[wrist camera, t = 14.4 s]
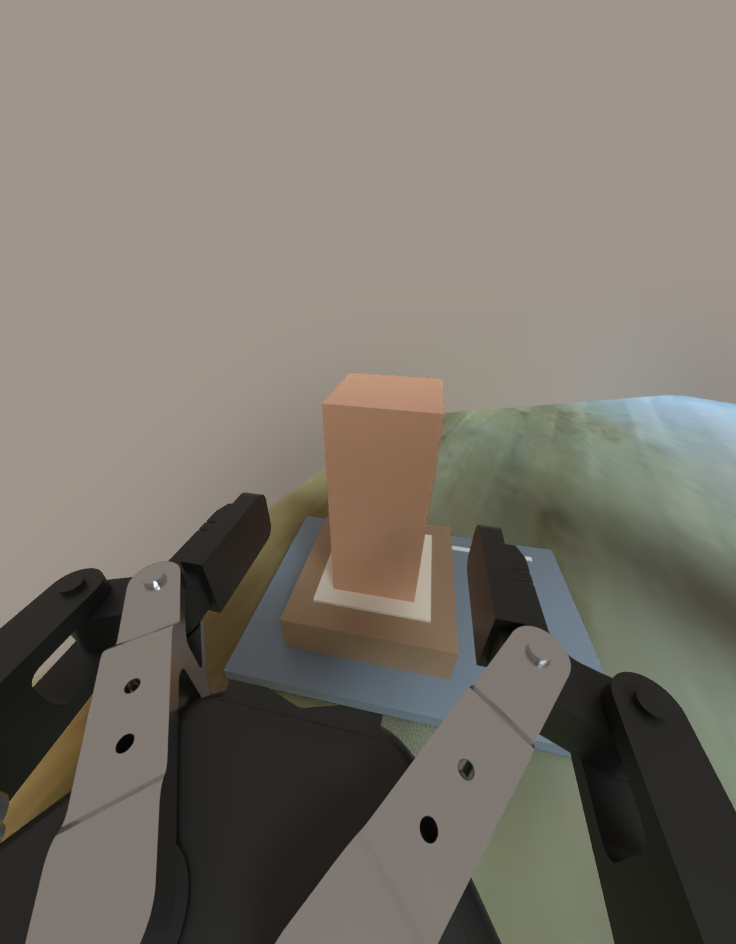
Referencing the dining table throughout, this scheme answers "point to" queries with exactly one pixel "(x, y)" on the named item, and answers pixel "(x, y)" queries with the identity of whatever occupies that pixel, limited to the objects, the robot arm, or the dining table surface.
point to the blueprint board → (386, 683)
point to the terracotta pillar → (381, 479)
